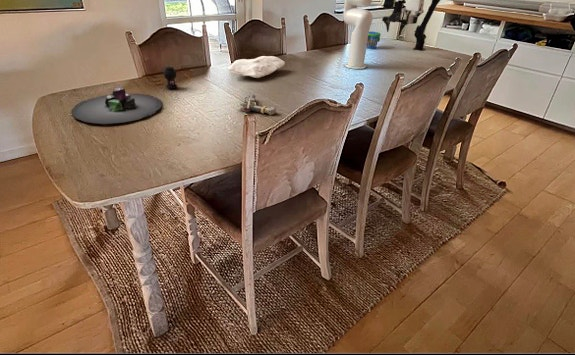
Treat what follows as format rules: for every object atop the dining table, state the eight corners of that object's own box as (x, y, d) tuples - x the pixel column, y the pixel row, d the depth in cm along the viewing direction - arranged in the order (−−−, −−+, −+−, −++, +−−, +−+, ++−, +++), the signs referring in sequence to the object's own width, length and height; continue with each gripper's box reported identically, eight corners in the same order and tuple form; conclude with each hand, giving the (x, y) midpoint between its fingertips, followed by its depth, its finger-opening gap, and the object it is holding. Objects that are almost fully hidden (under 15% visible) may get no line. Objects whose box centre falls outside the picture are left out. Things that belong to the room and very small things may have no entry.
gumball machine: (165, 90, 172) (162, 69, 166) (163, 86, 176) (159, 65, 171) (180, 88, 175) (177, 67, 169) (177, 85, 179) (174, 64, 174)
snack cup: (373, 45, 269) (375, 30, 263) (383, 48, 262) (386, 33, 256) (357, 47, 261) (359, 32, 256) (367, 50, 254) (370, 35, 249)
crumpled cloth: (215, 70, 197) (215, 54, 191) (268, 61, 215) (270, 45, 209) (238, 89, 184) (239, 72, 178) (292, 77, 202) (294, 61, 196)
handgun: (275, 94, 165) (242, 93, 164) (275, 109, 150) (239, 108, 149) (275, 100, 167) (242, 99, 166) (275, 115, 152) (239, 114, 151)
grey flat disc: (174, 113, 149) (170, 91, 144) (79, 131, 131) (72, 107, 127) (148, 93, 173) (144, 73, 169) (65, 106, 156) (59, 85, 151)
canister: (407, 22, 235) (409, 14, 233) (415, 23, 234) (416, 14, 231) (406, 23, 232) (408, 15, 229) (414, 24, 230) (415, 15, 227)
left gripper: (433, -8, 219) (425, 24, 229) (409, -11, 230) (403, 20, 240) (425, -8, 215) (418, 25, 225) (402, -11, 226) (396, 21, 236)
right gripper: (380, 9, 257) (377, 32, 265) (406, 12, 248) (401, 36, 256) (387, 7, 264) (383, 30, 273) (412, 10, 255) (407, 34, 264)
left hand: (411, 22), depth 232 cm, fingers closed on canister, 4 cm apart
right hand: (393, 33), depth 266 cm, fingers open, 9 cm apart
